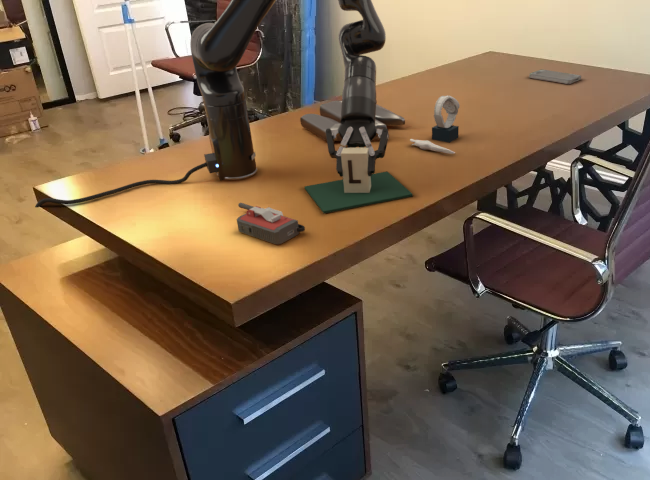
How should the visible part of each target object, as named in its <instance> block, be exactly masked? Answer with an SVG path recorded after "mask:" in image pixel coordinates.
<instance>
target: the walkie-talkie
mask: <svg viewBox="0 0 650 480" xmlns="http://www.w3.org/2000/svg"><path fill="white" fill-rule="evenodd" d="M237 206H238V207H239V208H240V209H243V210H246V211H245V213H243V214H242V215H240V216H238V217H237V218H236V225H237V229H238V232H239V233H242V234H245V235H247V236H250V237H253V238H256V239H259V240H262V241H264V242H268V243H270V244H274V245H282V244H284V243H286V242H288V241H290V240H291V239H293V238H295V237H296V236H298V235H300V233H303V232H305V230H306V227H305V225H303V224H299V221H298V220H297V219H294V218H292V217H287V216H284V214H283V211H281V210H278V209H275V208H272V207H269V206H268V207H266V208H264V207H260V206H257V205H255V206H253V205H250V204H248V203H247V204H246V203H243V202H238V204H237Z"/></svg>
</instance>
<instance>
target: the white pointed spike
mask: <svg viewBox="0 0 650 480" xmlns="http://www.w3.org/2000/svg"><path fill="white" fill-rule="evenodd" d="M409 142H411V143H412V144H411V146H416V147H417V148H420V149H421V150H425V151H427V150H430V151H433V152H440V153H443V154H450V155H455V154H456V152H455V151H453V150H452V149H448V148H446V147H444V146H441V145H438V144H435V143H433V142H432V141H431V140H427V139H426V140H421V139H413V138H410V139H409Z"/></svg>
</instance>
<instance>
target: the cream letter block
mask: <svg viewBox="0 0 650 480" xmlns="http://www.w3.org/2000/svg"><path fill="white" fill-rule="evenodd" d="M368 150H369V148H366V147H365V148H360V147H356V148H343V150H342V152H341V160H342V170H343V176H342V180H343V182H344V193H369V192H370V189H371V176H368V172H367V170H368V157H369V152H368Z"/></svg>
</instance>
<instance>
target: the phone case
mask: <svg viewBox="0 0 650 480" xmlns="http://www.w3.org/2000/svg"><path fill="white" fill-rule="evenodd" d="M528 76H529V77H528V78H529V79H535V80H540V81H547V82H551V83H552V82H553V83H559V84H564V85H572V84H574V83H576V82H578V81H581V80H582V75H581V74H575V73H568V72H564V71H563V72H562V71H557V70H556V71H555V70H549V69H538V70H535V71H533V72H532V71H531V72H530V73H529V74H528Z"/></svg>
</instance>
